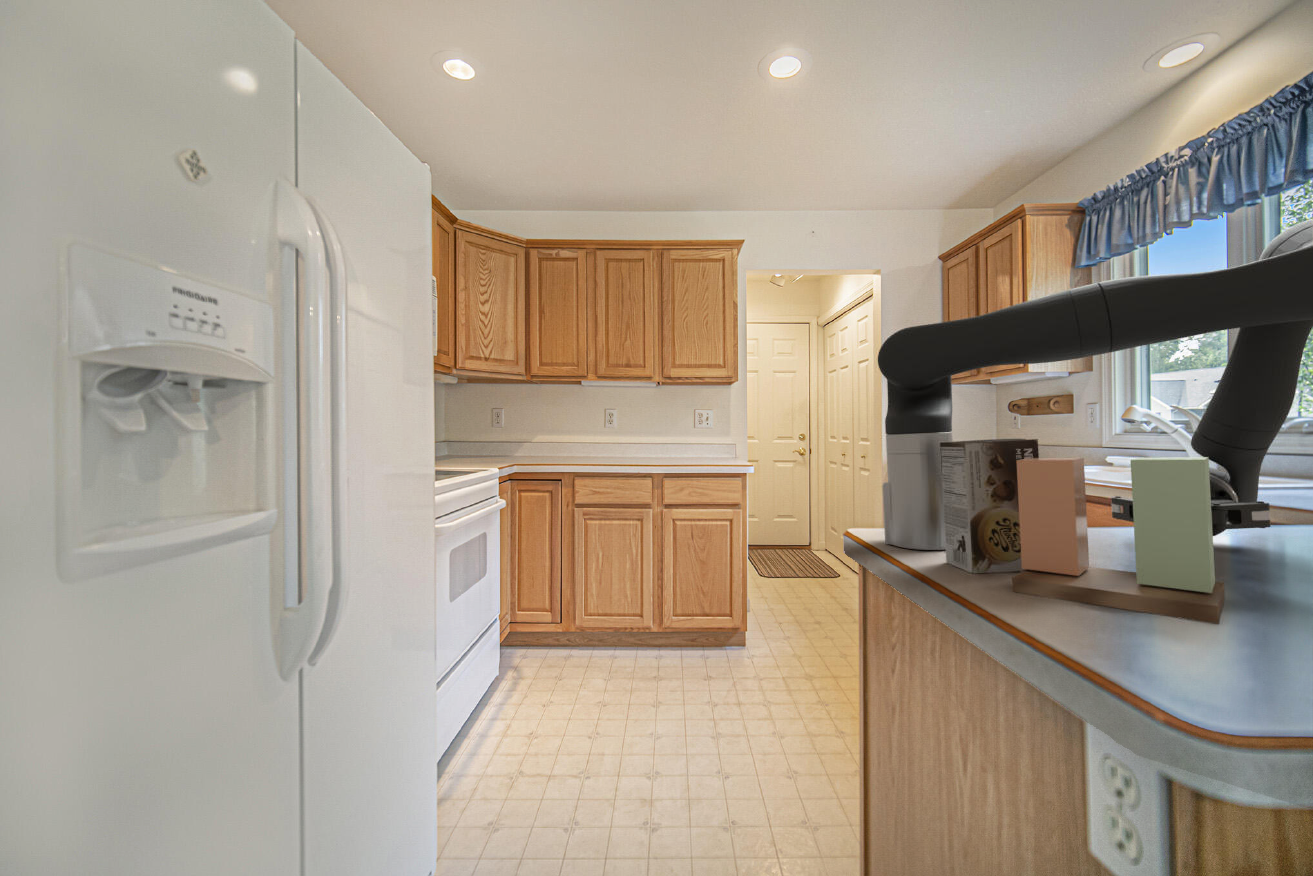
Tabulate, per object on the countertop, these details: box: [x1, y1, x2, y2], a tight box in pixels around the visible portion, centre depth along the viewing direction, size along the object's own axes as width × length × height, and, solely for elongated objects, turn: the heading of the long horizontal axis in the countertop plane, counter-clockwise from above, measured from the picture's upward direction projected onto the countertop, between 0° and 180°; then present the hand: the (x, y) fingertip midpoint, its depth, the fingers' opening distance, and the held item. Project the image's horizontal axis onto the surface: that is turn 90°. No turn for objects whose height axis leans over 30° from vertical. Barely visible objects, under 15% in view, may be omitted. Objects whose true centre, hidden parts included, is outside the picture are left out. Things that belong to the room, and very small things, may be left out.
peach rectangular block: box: [1017, 457, 1090, 576], centre depth 58 cm, size 5×5×12 cm
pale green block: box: [1130, 456, 1216, 593], centre depth 51 cm, size 5×5×12 cm
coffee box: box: [940, 438, 1040, 574], centre depth 67 cm, size 9×6×16 cm
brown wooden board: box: [1011, 566, 1226, 625], centre depth 54 cm, size 15×10×2 cm, turn 41°
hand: (1175, 520), depth 53 cm, fingers closed
